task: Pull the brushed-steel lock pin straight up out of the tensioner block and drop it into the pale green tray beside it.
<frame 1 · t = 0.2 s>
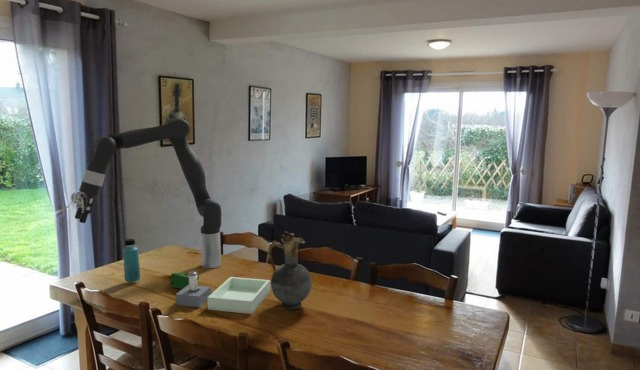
hand: (79, 220, 176), 31 cm above the table, tool tilted 20°, fingers open, 8 cm apart
lock pin: (193, 286, 173), in the tensioner block
pitcher: (288, 304, 171), on the table
tray: (240, 299, 175), on the table
green irregular block: (185, 287, 189), on the table
tensioner block: (193, 301, 174), on the table
beverage bottle: (132, 283, 193), on the table
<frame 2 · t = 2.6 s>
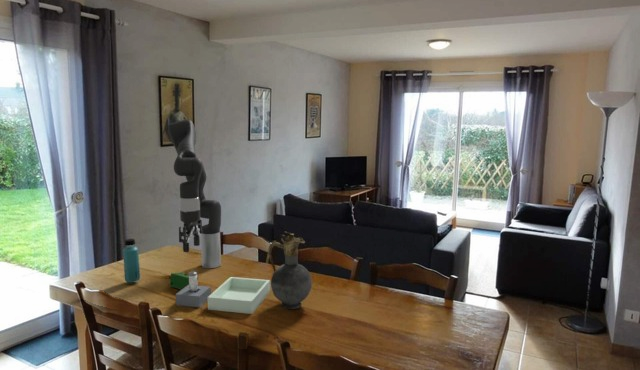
hand: (191, 248, 171), 22 cm above the table, tool pointing down, fingers open, 8 cm apart
nothing on the table moved.
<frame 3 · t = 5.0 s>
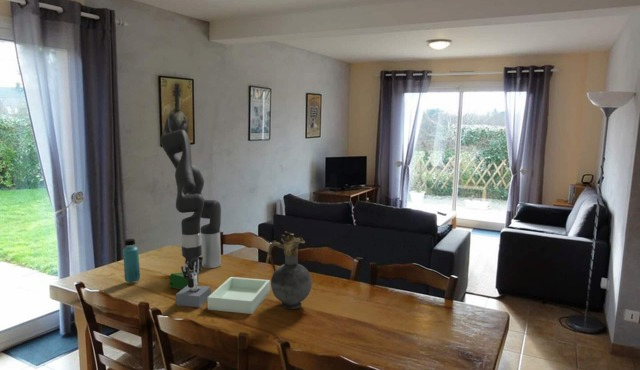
hand: (193, 285, 173), 7 cm above the table, tool pointing down, fingers closed on lock pin, 3 cm apart
lock pin: (193, 286, 173), in the tensioner block, touching gripper
everything else where it was.
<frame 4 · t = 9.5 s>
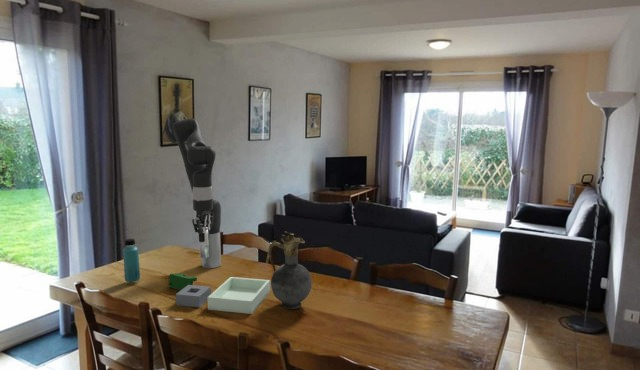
hand: (204, 240, 170), 25 cm above the table, tool pointing down, fingers closed on lock pin, 3 cm apart
lock pin: (204, 242, 170), point 25 cm above the table, touching gripper
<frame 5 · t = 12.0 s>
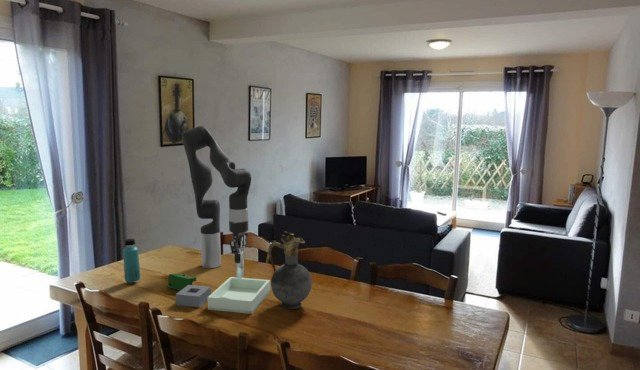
hand: (239, 261, 173), 16 cm above the table, tool pointing down, fingers closed on lock pin, 3 cm apart
lock pin: (239, 262, 173), point 16 cm above the table, touching gripper
when the fingers open (9 cm above the table, at t = 14.2 s): lock pin stays where it is, resting on tray.
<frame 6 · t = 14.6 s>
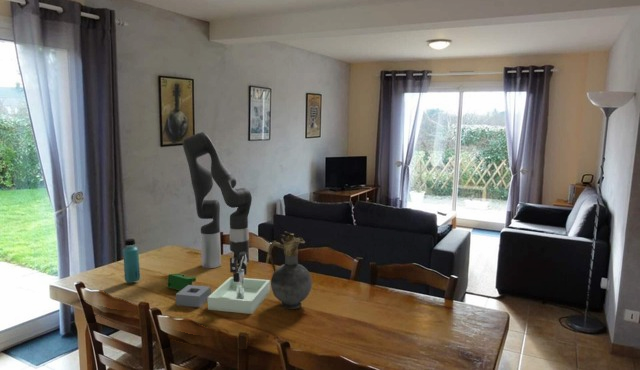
hand: (240, 277, 174), 9 cm above the table, tool pointing down, fingers open, 7 cm apart
lock pin: (240, 283, 174), in the tray, point 7 cm above the table
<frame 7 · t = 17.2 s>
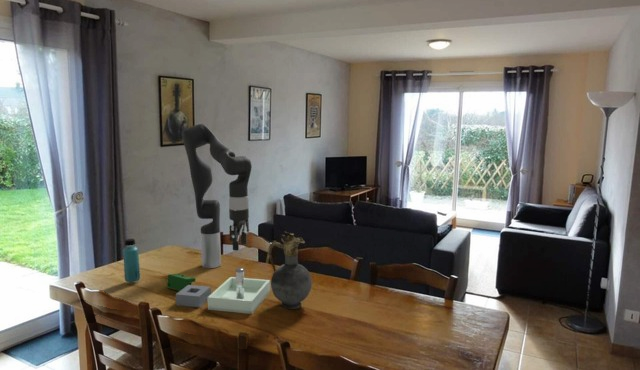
hand: (239, 247, 172), 22 cm above the table, tool pointing down, fingers open, 8 cm apart
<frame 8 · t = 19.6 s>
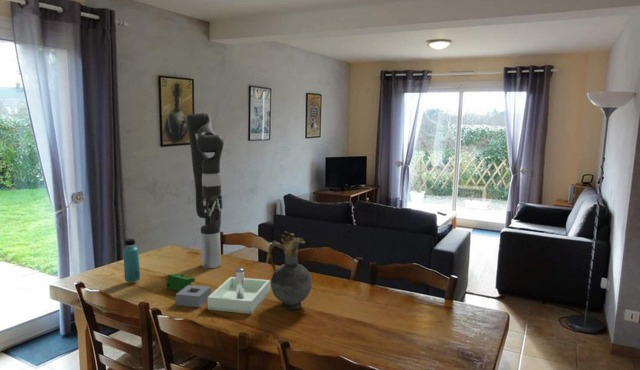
hand: (212, 222, 179), 30 cm above the table, tool pointing down, fingers open, 8 cm apart
at the end: lock pin inside the target area on the tray (0.1 cm from its centre), point 7.0 cm above the tray's base; lock pin moved 18.7 cm from its start; the gripper is holding nothing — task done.
